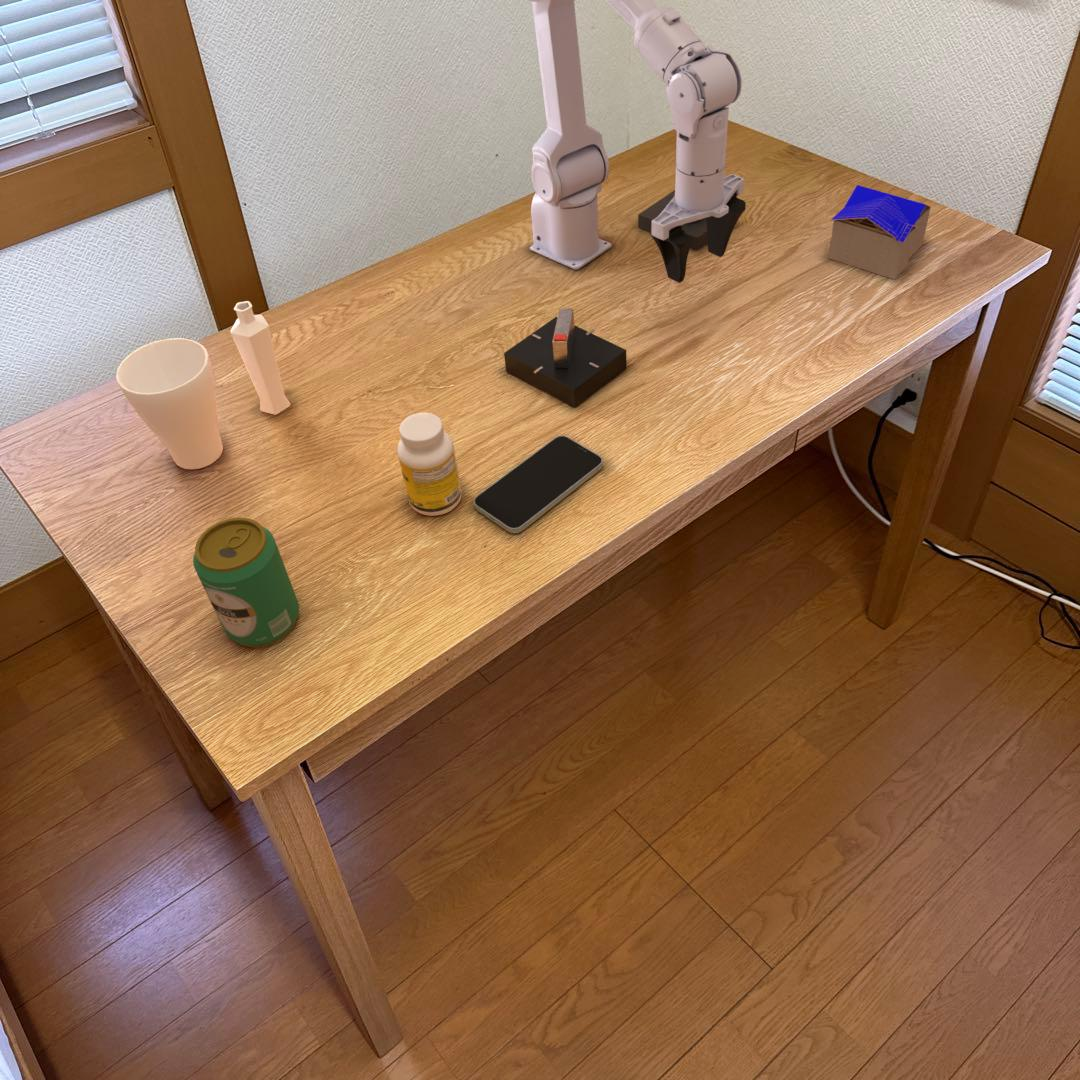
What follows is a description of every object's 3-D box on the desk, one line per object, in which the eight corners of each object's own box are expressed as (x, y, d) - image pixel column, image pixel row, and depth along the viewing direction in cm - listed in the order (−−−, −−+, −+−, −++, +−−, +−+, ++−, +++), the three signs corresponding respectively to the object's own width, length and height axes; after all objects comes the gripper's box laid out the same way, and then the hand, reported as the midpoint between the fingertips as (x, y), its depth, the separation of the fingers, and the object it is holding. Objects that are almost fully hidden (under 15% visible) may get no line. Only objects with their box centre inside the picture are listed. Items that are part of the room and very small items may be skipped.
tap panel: (502, 374, 135) (500, 354, 133) (560, 332, 140) (559, 313, 138) (572, 410, 129) (570, 390, 127) (629, 366, 134) (629, 346, 132)
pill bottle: (412, 481, 123) (395, 408, 115) (464, 479, 122) (451, 406, 114) (405, 519, 118) (388, 446, 110) (460, 517, 118) (446, 444, 110)
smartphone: (469, 501, 118) (560, 432, 125) (470, 506, 119) (561, 438, 126) (514, 532, 114) (606, 459, 121) (515, 537, 115) (607, 465, 122)
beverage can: (210, 640, 108) (172, 563, 99) (251, 584, 113) (218, 506, 104) (276, 659, 106) (243, 582, 97) (315, 601, 111) (286, 522, 102)
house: (895, 281, 143) (906, 229, 137) (825, 258, 148) (832, 207, 142) (929, 246, 148) (940, 194, 143) (860, 225, 153) (868, 174, 148)
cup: (167, 494, 124) (126, 406, 114) (147, 444, 131) (107, 356, 121) (251, 462, 127) (219, 373, 117) (228, 415, 133) (195, 327, 124)
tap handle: (561, 334, 135) (559, 306, 132) (574, 334, 135) (573, 307, 132) (554, 368, 130) (552, 340, 127) (568, 368, 130) (566, 340, 127)
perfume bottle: (300, 397, 135) (270, 298, 124) (281, 418, 132) (248, 319, 121) (271, 390, 136) (239, 291, 125) (251, 410, 134) (217, 311, 123)
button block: (638, 227, 157) (638, 203, 154) (675, 202, 161) (675, 178, 159) (697, 251, 152) (698, 226, 149) (733, 224, 156) (735, 199, 153)
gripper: (684, 200, 117) (681, 303, 127) (767, 151, 123) (758, 253, 133) (638, 180, 120) (638, 281, 130) (721, 134, 127) (715, 234, 137)
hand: (696, 266), depth 132 cm, fingers open, 7 cm apart
